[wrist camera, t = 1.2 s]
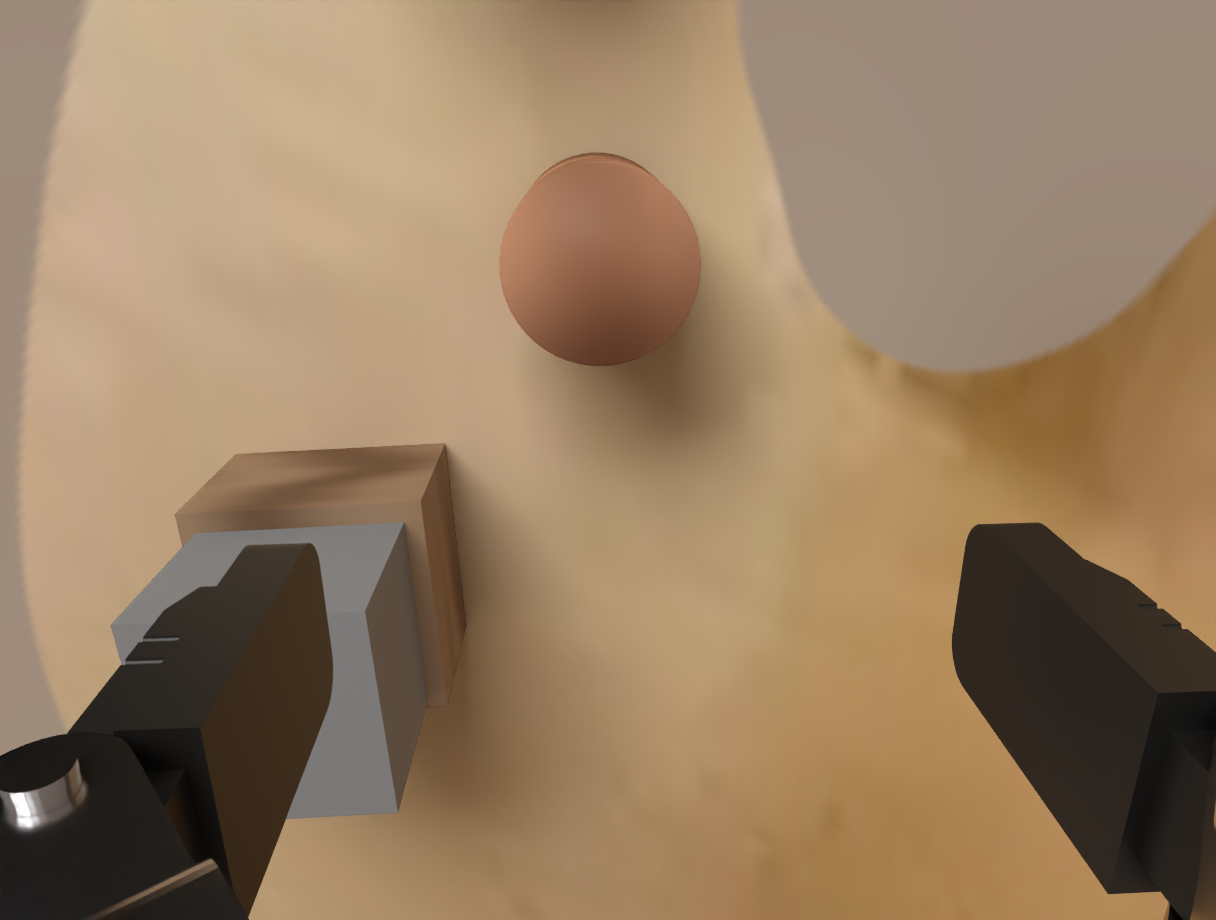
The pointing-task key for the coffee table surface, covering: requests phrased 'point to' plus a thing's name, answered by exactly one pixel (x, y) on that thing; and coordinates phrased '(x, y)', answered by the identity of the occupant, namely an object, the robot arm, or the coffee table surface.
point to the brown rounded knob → (599, 261)
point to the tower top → (361, 648)
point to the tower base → (355, 522)
